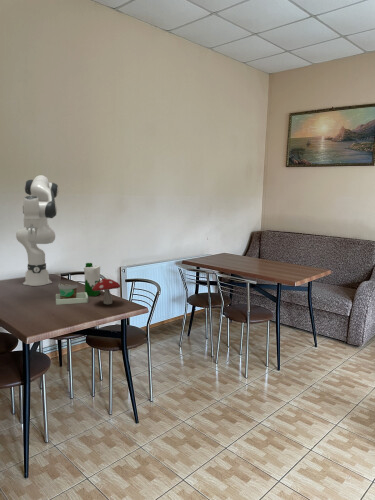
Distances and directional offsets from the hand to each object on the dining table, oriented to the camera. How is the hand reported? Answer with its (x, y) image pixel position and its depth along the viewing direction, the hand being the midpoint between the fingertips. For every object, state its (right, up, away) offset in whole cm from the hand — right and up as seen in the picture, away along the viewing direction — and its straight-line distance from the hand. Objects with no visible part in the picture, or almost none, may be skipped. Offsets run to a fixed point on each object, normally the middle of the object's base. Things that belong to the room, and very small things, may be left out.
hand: (32, 247), depth 225 cm
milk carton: (+31, -30, +17) cm, 46 cm away
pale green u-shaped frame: (+22, -32, +3) cm, 38 cm away
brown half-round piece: (+19, -32, +3) cm, 37 cm away
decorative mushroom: (+44, -33, -1) cm, 55 cm away
